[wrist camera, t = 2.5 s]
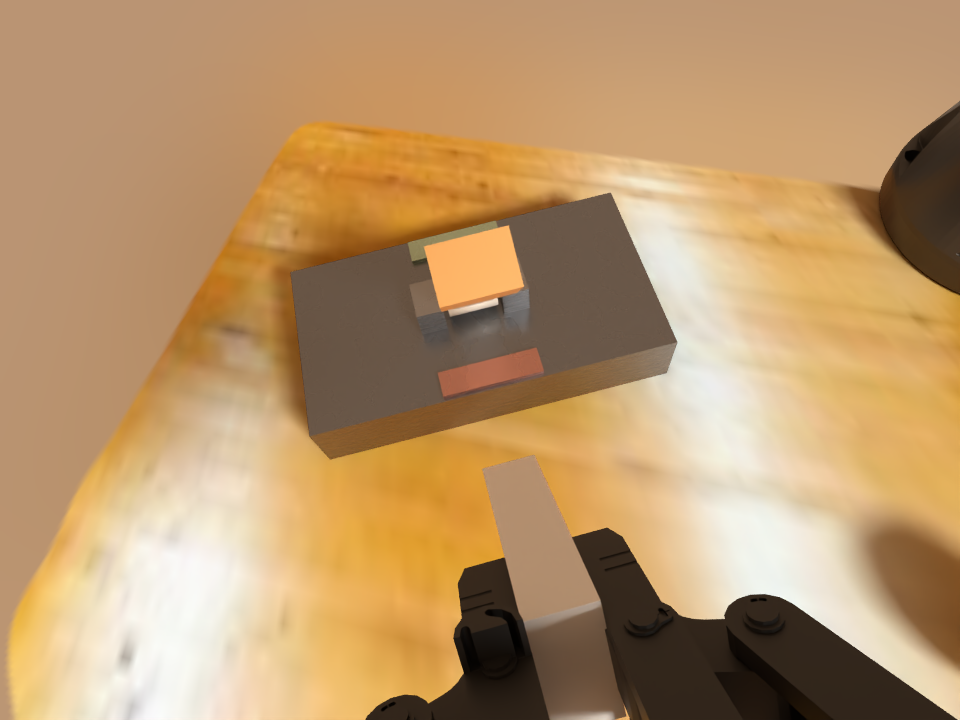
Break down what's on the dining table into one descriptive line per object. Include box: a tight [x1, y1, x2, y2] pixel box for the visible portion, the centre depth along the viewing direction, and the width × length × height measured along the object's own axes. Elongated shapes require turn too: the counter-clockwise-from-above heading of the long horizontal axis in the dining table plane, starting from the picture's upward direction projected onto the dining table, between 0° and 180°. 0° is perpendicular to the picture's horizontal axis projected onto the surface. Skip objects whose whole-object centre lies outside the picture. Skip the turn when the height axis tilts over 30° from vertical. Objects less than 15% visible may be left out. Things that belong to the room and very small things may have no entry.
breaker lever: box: [424, 225, 524, 317], centre depth 34 cm, size 4×3×14 cm
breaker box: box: [291, 193, 677, 459], centre depth 41 cm, size 22×12×6 cm, turn 103°
